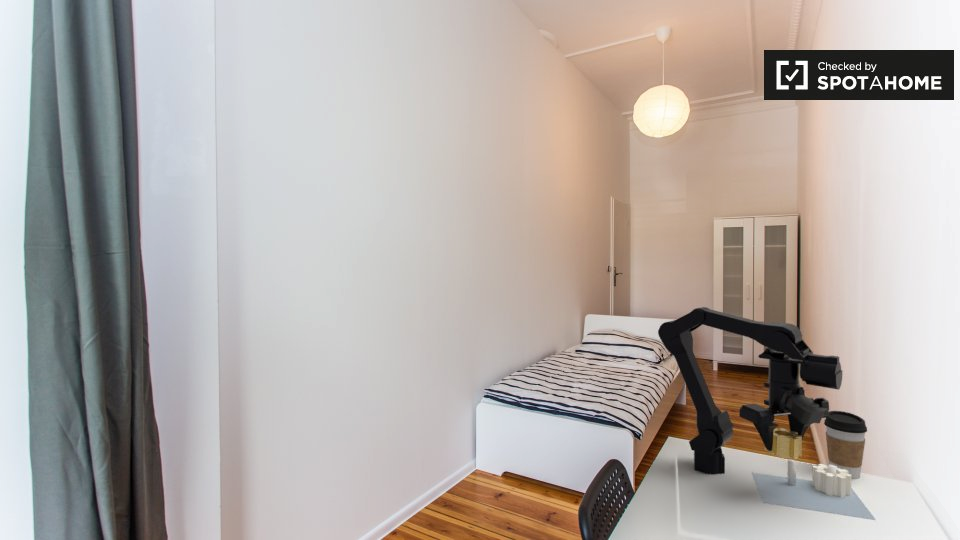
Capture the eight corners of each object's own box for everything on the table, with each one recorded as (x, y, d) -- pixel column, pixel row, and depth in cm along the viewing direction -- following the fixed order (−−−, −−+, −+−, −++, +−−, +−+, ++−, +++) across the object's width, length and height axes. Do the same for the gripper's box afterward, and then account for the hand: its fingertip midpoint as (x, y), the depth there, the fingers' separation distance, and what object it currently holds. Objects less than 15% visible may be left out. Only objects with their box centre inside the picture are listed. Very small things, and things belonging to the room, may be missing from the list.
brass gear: (782, 460, 104) (783, 440, 104) (757, 447, 111) (757, 429, 110) (809, 457, 105) (809, 437, 105) (782, 444, 112) (782, 426, 112)
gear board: (763, 506, 104) (763, 477, 104) (751, 475, 118) (752, 450, 118) (876, 523, 97) (876, 493, 97) (849, 489, 111) (850, 462, 111)
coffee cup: (851, 469, 121) (852, 410, 121) (875, 485, 113) (876, 422, 112) (815, 468, 122) (816, 410, 121) (837, 484, 114) (838, 422, 113)
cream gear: (827, 497, 106) (828, 478, 106) (805, 482, 113) (805, 464, 113) (858, 497, 106) (859, 477, 106) (834, 481, 113) (835, 463, 113)
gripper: (779, 394, 97) (778, 469, 98) (851, 386, 102) (850, 459, 102) (737, 379, 108) (737, 447, 109) (805, 373, 113) (804, 439, 113)
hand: (782, 448), depth 108 cm, fingers closed on brass gear, 7 cm apart
